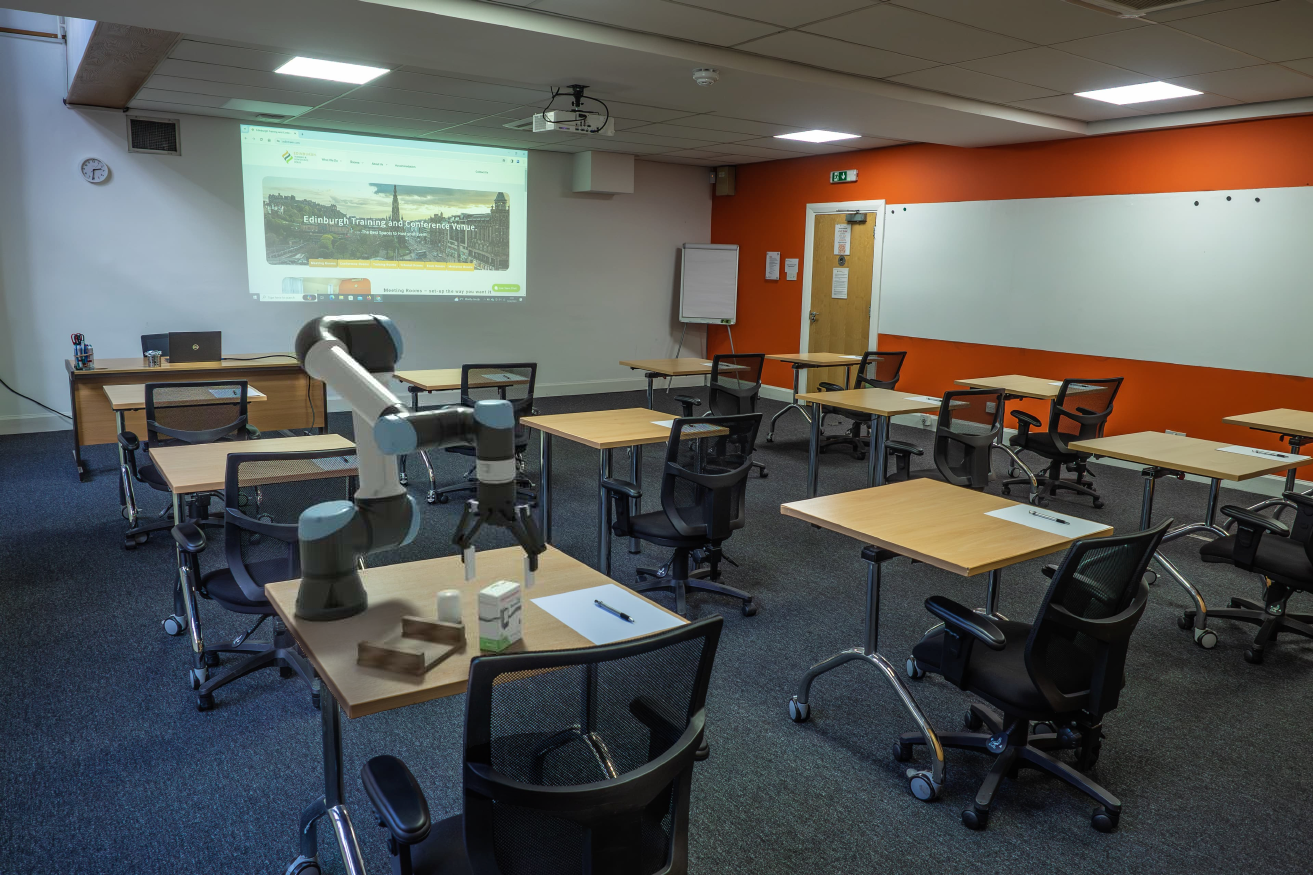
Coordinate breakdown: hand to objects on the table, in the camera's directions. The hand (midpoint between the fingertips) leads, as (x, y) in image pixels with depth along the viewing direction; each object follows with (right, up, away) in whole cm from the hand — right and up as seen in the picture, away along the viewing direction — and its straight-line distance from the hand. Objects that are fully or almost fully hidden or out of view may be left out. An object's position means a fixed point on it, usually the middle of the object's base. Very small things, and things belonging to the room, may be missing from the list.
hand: (499, 582), depth 168 cm
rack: (-16, -13, -3) cm, 21 cm away
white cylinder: (-13, -10, +13) cm, 22 cm away
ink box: (0, -13, +2) cm, 13 cm away
